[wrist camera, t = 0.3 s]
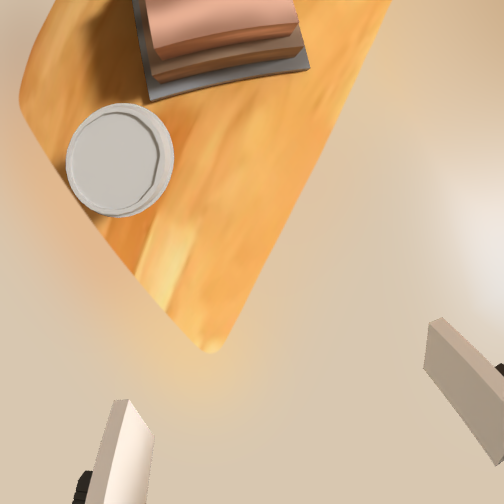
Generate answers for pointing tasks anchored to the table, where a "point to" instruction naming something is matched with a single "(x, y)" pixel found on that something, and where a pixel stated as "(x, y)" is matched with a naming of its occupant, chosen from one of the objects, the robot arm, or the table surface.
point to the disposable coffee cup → (120, 160)
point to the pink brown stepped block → (215, 42)
